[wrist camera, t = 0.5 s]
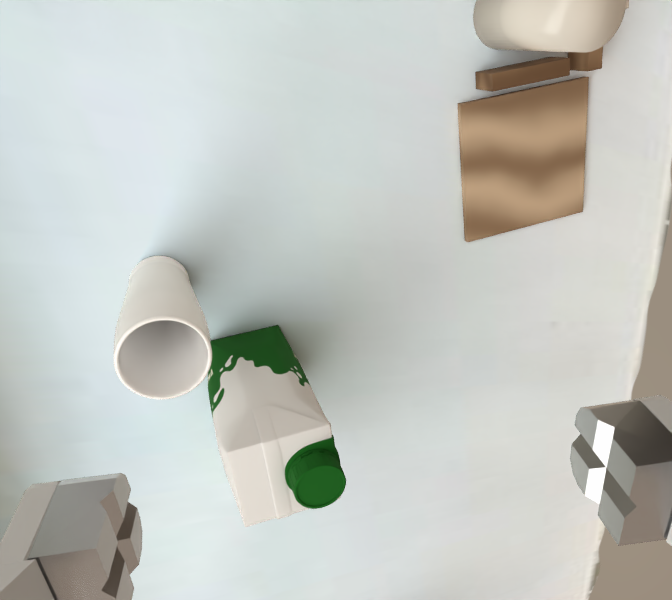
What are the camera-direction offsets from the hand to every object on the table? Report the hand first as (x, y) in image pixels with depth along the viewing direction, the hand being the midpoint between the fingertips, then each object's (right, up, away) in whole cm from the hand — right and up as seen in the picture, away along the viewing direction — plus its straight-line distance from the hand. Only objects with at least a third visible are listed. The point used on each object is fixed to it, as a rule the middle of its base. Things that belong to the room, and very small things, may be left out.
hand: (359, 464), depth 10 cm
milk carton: (-9, -3, +49) cm, 50 cm away
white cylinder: (+16, +29, +43) cm, 54 cm away
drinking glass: (-17, +5, +43) cm, 46 cm away
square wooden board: (+19, +17, +49) cm, 55 cm away
